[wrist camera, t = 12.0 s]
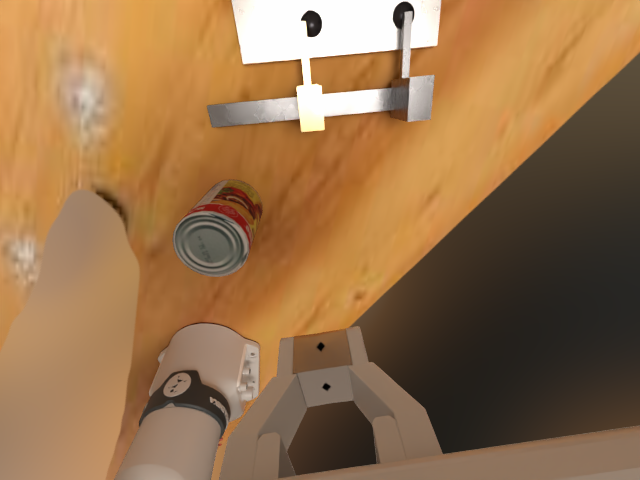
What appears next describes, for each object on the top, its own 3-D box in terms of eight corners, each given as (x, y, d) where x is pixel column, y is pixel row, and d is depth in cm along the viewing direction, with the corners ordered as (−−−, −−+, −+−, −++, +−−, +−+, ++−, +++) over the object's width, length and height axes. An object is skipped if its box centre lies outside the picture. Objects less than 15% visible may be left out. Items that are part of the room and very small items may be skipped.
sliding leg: (320, 125, 36) (324, 132, 29) (301, 127, 36) (301, 135, 29) (312, 25, 31) (315, 7, 24) (291, 27, 31) (287, 9, 24)
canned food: (243, 240, 43) (224, 288, 32) (196, 210, 40) (159, 252, 30) (273, 202, 40) (263, 240, 30) (225, 167, 38) (195, 196, 27)
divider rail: (419, 113, 36) (447, 117, 29) (217, 132, 36) (196, 142, 29) (426, 15, 31) (462, -7, 24) (194, 37, 31) (163, 21, 24)
